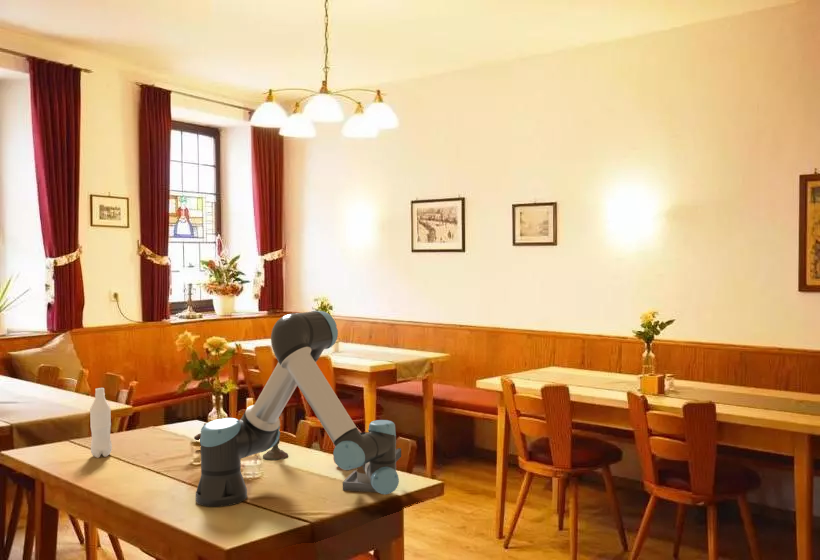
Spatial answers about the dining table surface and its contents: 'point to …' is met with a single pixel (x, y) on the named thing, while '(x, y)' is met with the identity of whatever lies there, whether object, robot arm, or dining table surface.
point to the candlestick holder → (275, 453)
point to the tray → (356, 484)
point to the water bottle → (100, 425)
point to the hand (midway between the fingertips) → (365, 448)
